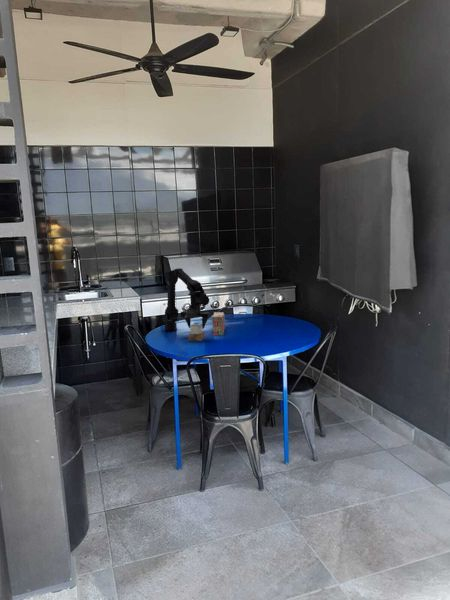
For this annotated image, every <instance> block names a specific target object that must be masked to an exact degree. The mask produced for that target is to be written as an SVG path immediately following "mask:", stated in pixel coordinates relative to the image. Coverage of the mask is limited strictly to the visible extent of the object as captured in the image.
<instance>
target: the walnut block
mask: <svg viewBox="0 0 450 600" xmlns="http://www.w3.org/2000/svg"><path fill="white" fill-rule="evenodd" d="M205 333H206V332H205V331H203V330H202V332H201V333H200V334H191V332H189V334H188V341H194V342H195V341H196V342H197V341H199V342H202V341H203V340H204V339H205V338H206V337H205V336H206V334H205Z"/></svg>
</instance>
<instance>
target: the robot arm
mask: <svg viewBox="0 0 450 600" xmlns="http://www.w3.org/2000/svg"><path fill="white" fill-rule="evenodd" d="M163 276H164V280H165V283H166V284H167V306H166V308H165V310H164V315H163V316H162V318H161V321H162V322H163V323H164V330H163V331H164V332H172V333H173V332H175V331H177V330H178V328H177V323H176V321H178V319H179V316H180V318H182V319H184V320H185V322H186V324H187V327H188V329H190V326H191V325H192V324H191V323H192V322H191V321H192V320H191V319H194V318H195V317H200V319H201V326H202V330H204V329H205V327H206V324H207V322H208V320H209V319H211V318H213V314H212V312H209V311H205V312H202V310H201V306H207V305H209V302H210V298H209V296H208V295H207V293H206V292H205V290H204V288H203V286H202V283H201V282H199V281H198V280H196V279H193V278H191V277H190V275H189V274H187V273H186V272H185V271H184V270H183V268H174V269H173V270H168V271H166V272H164V275H163ZM179 280H180V281H182V282H183V283H184V284H185V285H186V289H187V291H188V292H189V293H188V296H190V305H189V306H188V307H189V308H188V310H182V311H180V314H179V309H178V308H177V307H176V285H177V283H178V281H179Z"/></svg>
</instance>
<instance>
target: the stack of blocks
mask: <svg viewBox="0 0 450 600" xmlns="http://www.w3.org/2000/svg"><path fill="white" fill-rule="evenodd" d="M225 319H226V318H225V313H224V311H223V312H218V311H217V312H215V311H214V312H213V314H212V335H213V336H224V334H225V329H226V321H225Z"/></svg>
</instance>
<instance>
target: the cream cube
mask: <svg viewBox="0 0 450 600" xmlns="http://www.w3.org/2000/svg"><path fill="white" fill-rule="evenodd" d="M189 330H190V333H191V334H200V333H201V332H202V331H203V329H202V323H201V324H199V323H193V324H191V325H190V328H189Z"/></svg>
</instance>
